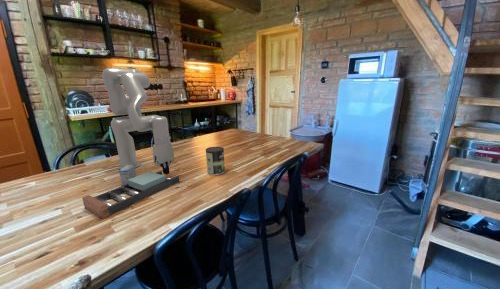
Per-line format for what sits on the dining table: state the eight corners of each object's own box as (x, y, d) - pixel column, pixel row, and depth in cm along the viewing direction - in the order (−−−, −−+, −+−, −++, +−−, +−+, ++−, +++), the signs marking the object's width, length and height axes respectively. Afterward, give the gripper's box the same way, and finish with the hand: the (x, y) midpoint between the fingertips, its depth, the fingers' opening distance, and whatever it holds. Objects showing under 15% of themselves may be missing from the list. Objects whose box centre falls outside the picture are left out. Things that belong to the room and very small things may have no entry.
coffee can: (227, 169, 133) (226, 146, 129) (221, 175, 123) (220, 151, 119) (211, 168, 135) (209, 146, 131) (204, 174, 125) (202, 151, 121)
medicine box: (128, 180, 120) (125, 165, 118) (137, 179, 121) (134, 164, 118) (121, 186, 113) (118, 170, 110) (130, 185, 113) (127, 170, 111)
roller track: (84, 207, 93) (82, 197, 92) (161, 176, 124) (160, 167, 123) (103, 218, 86) (100, 207, 84) (179, 181, 117) (178, 172, 115)
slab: (128, 185, 107) (127, 179, 106) (150, 176, 117) (149, 171, 116) (143, 191, 101) (142, 185, 100) (165, 181, 111) (164, 175, 110)
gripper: (169, 136, 121) (173, 168, 126) (144, 143, 109) (149, 177, 114) (178, 138, 117) (182, 170, 122) (153, 145, 105) (159, 180, 110)
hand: (166, 173), depth 118 cm, fingers closed
